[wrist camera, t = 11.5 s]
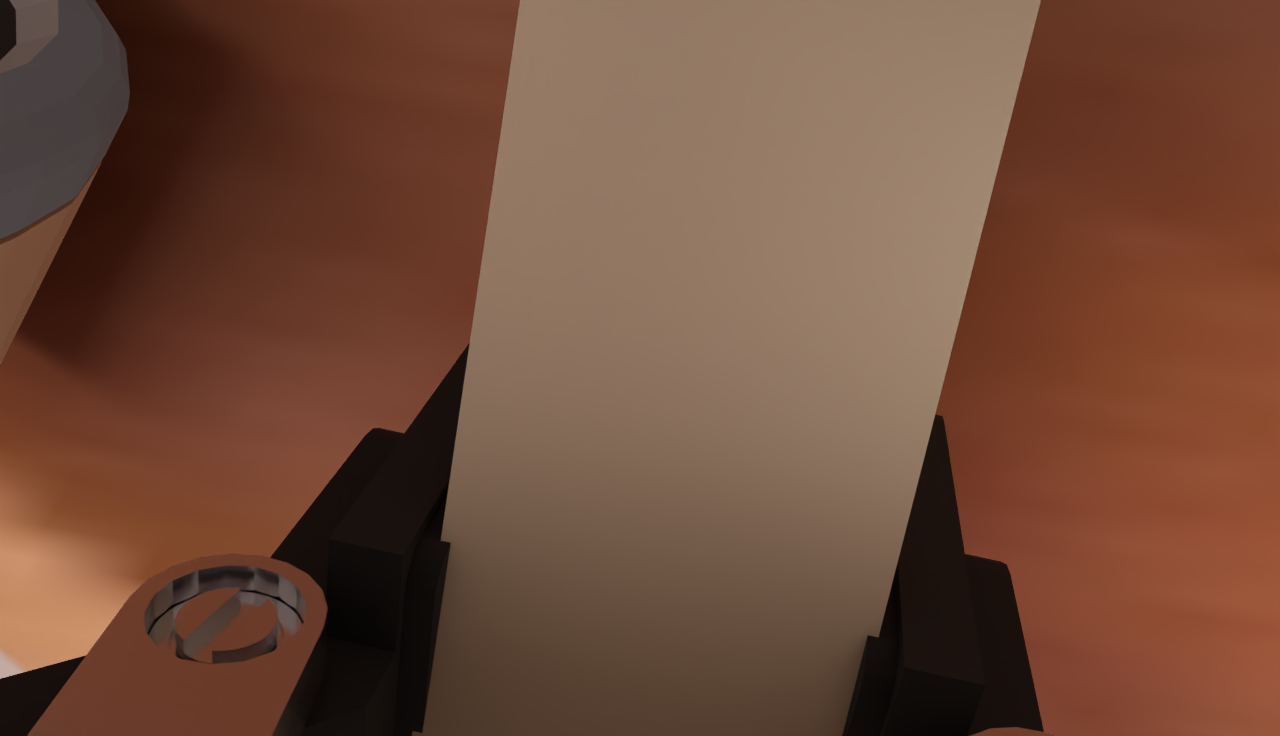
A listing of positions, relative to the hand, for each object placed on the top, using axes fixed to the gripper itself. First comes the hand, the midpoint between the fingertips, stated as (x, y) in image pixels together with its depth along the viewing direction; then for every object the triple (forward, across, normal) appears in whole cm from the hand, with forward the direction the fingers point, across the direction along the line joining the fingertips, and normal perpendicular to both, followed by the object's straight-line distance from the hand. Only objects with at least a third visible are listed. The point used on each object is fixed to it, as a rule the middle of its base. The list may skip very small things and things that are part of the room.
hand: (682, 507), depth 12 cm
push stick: (+1, 0, 0) cm, 1 cm away
